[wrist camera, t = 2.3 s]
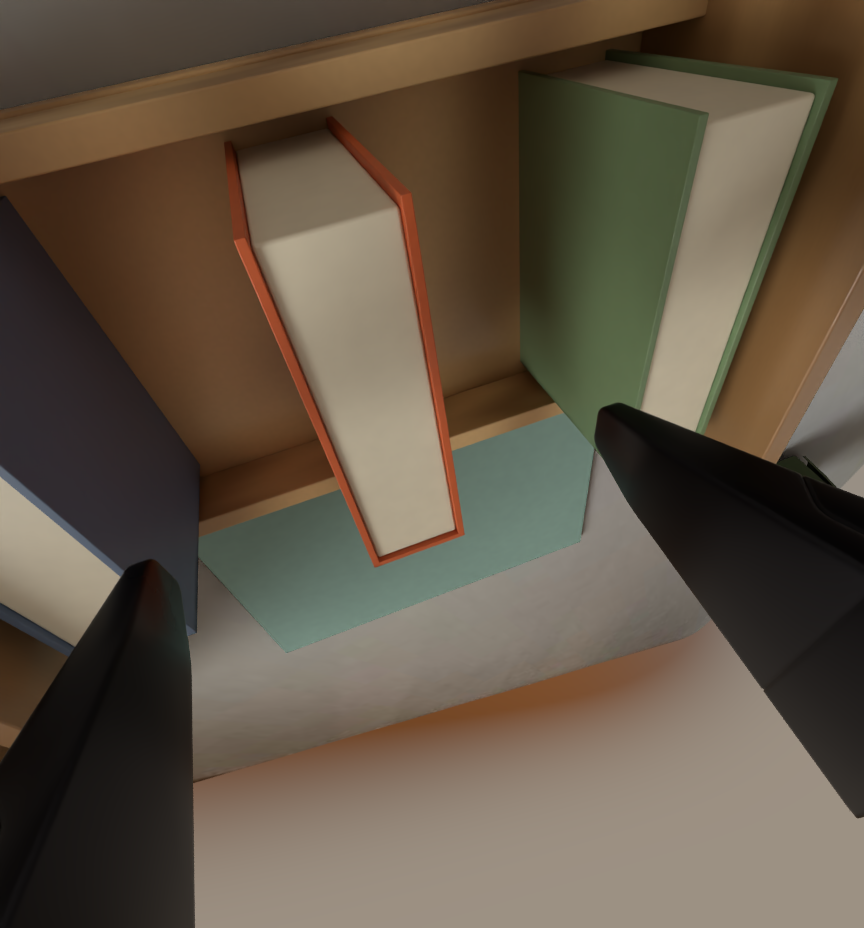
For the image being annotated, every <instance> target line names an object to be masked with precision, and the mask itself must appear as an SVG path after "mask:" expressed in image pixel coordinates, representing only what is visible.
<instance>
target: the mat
mask: <svg viewBox="0 0 864 928" xmlns="http://www.w3.org/2000/svg"><path fill="white" fill-rule="evenodd" d="M593 454H594V447H593V446H592V445H591V444H590V443H589V442H588V440H587V439H586V438H585V437H584V436H583V434H582V433H581V432H580V431H579V430H578V429H577V427H576V426H575V425H574V424H573V423H572V422H571V420H570V419H569V418H568V417H567V416H566V415H565V413H562V414H559V415H556V416H553V417H550V418H547V419H544V420H541V421H538V422H535V423H532V424H529V425H527V426H524V427H521V428H518V429H515V430H512V431H509V432H506V433H503V434H500V435H497V436H494V437H491V438H488V439H485V440H483V441H480V442H477V443H474V444H471V445H468V446H465V447H462V448H459V449H456V450H453V451H452V456H453V462H454V469H455V475H456V482H457V488H458V494H459V501H460V507H461V514H462V520H463V527H464V533H465V535H463V536H461V537H458V538H455V539H452V540H450V541H447V542H444V543H441V544H439V545H436V546H433V547H430V548H428V549H425V550H422V551H419V552H417V553H414V554H411V555H409V556H406V557H403V558H400V559H398V560H395V561H392V562H389V563H387V564H384V565H381V566H378V567H376V568H375V567H374V565H373V563H372V560H371V558H370V556H369V554H368V551H367V549H366V547H365V544H364V542H363V540H362V537H361V535H360V533H359V530H358V528H357V526H356V523H355V521H354V519H353V516H352V514H351V512H350V510H349V507H348V505H347V503H346V500H345V498H344V496H343V493H342V491H341V489H339V490H336V491H333V492H330V493H327V494H324V495H321V496H319V497H316V498H313V499H310V500H307V501H304V502H301V503H298V504H295V505H292V506H289V507H286V508H283V509H280V510H277V511H275V512H272V513H269V514H266V515H263V516H260V517H257V518H254V519H251V520H248V521H245V522H242V523H239V524H236V525H234V526H231V527H228V528H225V529H222V530H219V531H216V532H213V533H210V534H207V535H204V536H201V537H199V543H198V557H199V558H200V559H201V560H202V562H203V563H204V564H205V565H206V566H207V567H208V568H209V569H210V570H211V571H212V572H213V574H214V575H215V576H216V577H217V578H218V579H219V580H220V581H221V582H222V583H223V584H224V586H225V587H226V588H227V589H228V590H229V591H230V592H231V593H232V594H233V595H234V596H235V598H236V599H237V600H238V601H239V602H240V603H241V604H242V605H243V606H244V607H245V609H246V610H247V611H248V612H249V613H250V614H251V615H252V616H253V617H254V618H255V619H256V621H257V622H258V623H259V624H260V625H261V626H262V627H263V628H264V629H265V630H266V631H267V633H268V634H269V635H270V636H271V637H272V638H273V639H274V640H275V641H276V642H277V644H278V645H279V646H280V647H281V648H282V649H283V650H284V651H285V652H286V653H288V652H291V651H293V650H296V649H299V648H301V647H304V646H307V645H309V644H312V643H314V642H317V641H320V640H322V639H325V638H328V637H330V636H333V635H336V634H338V633H341V632H343V631H346V630H349V629H351V628H354V627H357V626H359V625H362V624H365V623H367V622H370V621H372V620H375V619H378V618H380V617H383V616H386V615H388V614H391V613H394V612H396V611H399V610H401V609H404V608H407V607H409V606H412V605H415V604H417V603H420V602H423V601H425V600H428V599H430V598H433V597H436V596H438V595H441V594H444V593H446V592H449V591H452V590H454V589H457V588H459V587H462V586H465V585H467V584H470V583H473V582H475V581H478V580H481V579H483V578H486V577H488V576H491V575H494V574H496V573H499V572H502V571H504V570H507V569H510V568H512V567H515V566H517V565H520V564H523V563H525V562H528V561H531V560H533V559H536V558H539V557H541V556H544V555H546V554H549V553H552V552H554V551H557V550H560V549H562V548H565V547H568V546H570V545H573V544H575V543H578V542H580V539H581V533H582V526H583V520H584V513H585V507H586V500H587V494H588V487H589V480H590V474H591V467H592V461H593Z"/></svg>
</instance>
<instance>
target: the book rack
mask: <svg viewBox="0 0 864 928" xmlns="http://www.w3.org/2000/svg"><path fill="white" fill-rule="evenodd" d="M608 49H618V50H626V51H633V52H641V53H649V54H657V55H664V56H672V57H680V58H688V59H695V60H703V61H711V62H719V63H726V64H734V65H742V66H750V67H757V68H765V69H773V70H780V71H788V72H796V73H804V74H811V75H819V76H827V77H835V78H838V81H837V84H836V87H835V89H834V92H833V95H832V97H831V100H830V103H829V105H828V108H827V111H826V113H825V116H824V119H823V121H822V124H821V126H820V129H819V132H818V134H817V137H816V140H815V142H814V145H813V148H812V150H811V153H810V156H809V158H808V161H807V164H806V166H805V169H804V171H803V174H802V177H801V179H800V182H799V185H798V187H797V190H796V193H795V195H794V198H793V201H792V203H791V206H790V209H789V211H788V214H787V216H786V219H785V222H784V224H783V227H782V230H781V232H780V235H779V238H778V240H777V243H776V246H775V248H774V251H773V253H772V256H771V259H770V261H769V264H768V267H767V269H766V272H765V275H764V277H763V280H762V283H761V285H760V288H759V291H758V293H757V296H756V298H755V301H754V304H753V306H752V309H751V312H750V314H749V317H748V320H747V322H746V325H745V328H744V330H743V333H742V336H741V338H740V341H739V343H738V346H737V349H736V351H735V354H734V357H733V359H732V362H731V365H730V367H729V370H728V373H727V375H726V378H725V381H724V383H723V386H722V388H721V391H720V394H719V396H718V399H717V402H716V404H715V407H714V410H713V412H712V415H711V418H710V420H709V423H708V425H707V428H706V431H705V433H704V436H707V437H709V438H712V439H714V440H717V441H719V442H722V443H724V444H727V445H729V446H732V447H734V448H737V449H739V450H742V451H745V452H747V453H750V454H752V455H755V456H757V457H760V458H762V459H765V460H767V461H770V462H772V463H775V464H776V463H777V462H778V460H779V458H780V456H781V455H782V453H783V451H784V449H785V448H786V446H787V444H788V442H789V440H790V439H791V437H792V435H793V433H794V432H795V430H796V428H797V426H798V424H799V423H800V421H801V419H802V417H803V416H804V414H805V412H806V410H807V408H808V407H809V405H810V403H811V401H812V400H813V398H814V396H815V394H816V392H817V391H818V389H819V387H820V385H821V384H822V382H823V380H824V378H825V377H826V375H827V373H828V371H829V369H830V368H831V366H832V364H833V362H834V361H835V359H836V357H837V355H838V353H839V352H840V350H841V348H842V346H843V345H844V343H845V341H846V339H847V337H848V336H849V334H850V332H851V330H852V329H853V327H854V325H855V323H856V322H857V320H858V318H859V316H860V314H861V313H862V311H863V309H864V0H495V1H490V2H486V3H481V4H477V5H472V6H468V7H463V8H459V9H454V10H450V11H445V12H441V13H436V14H432V15H427V16H423V17H418V18H414V19H409V20H405V21H400V22H396V23H391V24H386V25H382V26H377V27H373V28H368V29H364V30H359V31H355V32H350V33H346V34H341V35H337V36H332V37H328V38H323V39H319V40H314V41H310V42H305V43H301V44H296V45H291V46H287V47H282V48H278V49H273V50H269V51H264V52H260V53H255V54H251V55H246V56H242V57H237V58H233V59H228V60H224V61H219V62H215V63H210V64H206V65H201V66H196V67H192V68H187V69H183V70H178V71H174V72H169V73H165V74H160V75H156V76H151V77H147V78H142V79H138V80H133V81H129V82H124V83H120V84H115V85H111V86H106V87H102V88H97V89H92V90H88V91H83V92H79V93H74V94H70V95H65V96H61V97H56V98H52V99H47V100H43V101H38V102H34V103H29V104H25V105H20V106H16V107H11V108H7V109H2V110H0V197H1V196H6V197H7V198H8V199H9V201H10V202H11V204H12V205H13V206H14V208H15V209H16V211H17V212H18V213H19V215H20V216H21V217H22V219H23V220H24V222H25V223H26V224H27V226H28V227H29V229H30V230H31V231H32V233H33V234H34V235H35V237H36V238H37V240H38V241H39V242H40V244H41V245H42V247H43V248H44V249H45V251H46V252H47V253H48V255H49V256H50V258H51V259H52V260H53V262H54V263H55V265H56V266H57V267H58V269H59V270H60V271H61V273H62V274H63V276H64V277H65V278H66V280H67V281H68V283H69V284H70V285H71V287H72V288H73V289H74V291H75V292H76V294H77V295H78V296H79V298H80V299H81V301H82V302H83V303H84V305H85V306H86V307H87V309H88V310H89V312H90V313H91V314H92V316H93V317H94V319H95V320H96V321H97V323H98V324H99V325H100V327H101V328H102V330H103V331H104V332H105V334H106V335H107V337H108V338H109V339H110V341H111V342H112V343H113V345H114V346H115V348H116V349H117V350H118V352H119V353H120V355H121V356H122V357H123V359H124V360H125V361H126V363H127V364H128V366H129V367H130V368H131V370H132V371H133V373H134V374H135V375H136V377H137V378H138V379H139V381H140V382H141V384H142V385H143V386H144V388H145V389H146V391H147V392H148V393H149V395H150V396H151V397H152V399H153V400H154V402H155V403H156V404H157V406H158V407H159V409H160V410H161V411H162V413H163V414H164V415H165V417H166V418H167V420H168V421H169V422H170V424H171V425H172V427H173V428H174V429H175V431H176V432H177V433H178V435H179V436H180V438H181V439H182V440H183V442H184V443H185V445H186V446H187V447H188V449H189V450H190V451H191V453H192V454H193V456H194V457H195V458H196V460H197V461H198V463H199V464H200V493H199V537H201V536H204V535H207V534H210V533H213V532H216V531H219V530H222V529H225V528H228V527H231V526H234V525H236V524H239V523H242V522H245V521H248V520H251V519H254V518H257V517H260V516H263V515H266V514H269V513H272V512H275V511H277V510H280V509H283V508H286V507H289V506H292V505H295V504H298V503H301V502H304V501H307V500H310V499H313V498H316V497H319V496H321V495H324V494H327V493H330V492H333V491H336V490H339V489H340V486H339V484H338V482H337V479H336V477H335V475H334V472H333V470H332V468H331V465H330V463H329V461H328V459H327V456H326V454H325V452H324V449H323V447H322V445H321V442H320V440H319V438H318V435H317V433H316V431H315V428H314V426H313V424H312V421H311V419H310V417H309V415H308V412H307V410H306V408H305V405H304V403H303V401H302V398H301V396H300V394H299V391H298V389H297V387H296V384H295V382H294V380H293V377H292V375H291V373H290V371H289V368H288V366H287V364H286V361H285V359H284V357H283V354H282V352H281V350H280V347H279V345H278V343H277V340H276V338H275V336H274V333H273V331H272V329H271V327H270V324H269V322H268V320H267V317H266V315H265V313H264V310H263V308H262V306H261V303H260V301H259V299H258V296H257V294H256V292H255V289H254V287H253V285H252V283H251V280H250V278H249V276H248V273H247V271H246V269H245V266H244V264H243V262H242V259H241V257H240V255H239V252H238V250H237V248H236V245H235V243H234V239H233V229H232V219H231V209H230V199H229V189H228V179H227V169H226V159H225V149H224V142H228V141H231V142H232V145H233V147H234V150H235V153H236V152H237V151H238V150H241V149H245V148H250V147H254V146H258V145H262V144H266V143H270V142H274V141H278V140H282V139H286V138H290V137H294V136H298V135H303V134H307V133H311V132H315V131H319V130H323V129H329V128H328V124H327V120H326V118H327V117H331V116H333V117H334V118H335V119H336V120H337V121H338V122H339V123H340V124H341V125H342V126H343V127H344V128H345V129H346V130H347V131H348V132H349V133H350V134H351V135H352V136H353V137H354V138H356V139H357V140H358V141H359V142H360V143H361V144H362V145H363V146H364V147H365V148H366V149H367V150H368V151H369V152H370V153H371V154H372V155H373V156H374V157H375V158H376V159H377V160H378V161H379V162H380V163H381V164H382V165H383V166H384V167H385V168H386V169H387V170H389V171H390V172H391V173H392V174H393V175H394V176H395V177H396V178H397V179H398V180H399V181H400V182H401V183H402V184H403V185H404V186H405V187H406V188H407V189H408V190H409V191H410V192H411V193H412V198H413V205H414V211H415V218H416V224H417V231H418V237H419V243H420V250H421V256H422V263H423V269H424V276H425V282H426V288H427V295H428V301H429V308H430V314H431V321H432V327H433V334H434V340H435V346H436V353H437V359H438V366H439V372H440V379H441V385H442V391H443V398H444V404H445V411H446V417H447V424H448V430H449V436H450V443H451V449H452V451H453V450H456V449H459V448H462V447H465V446H468V445H471V444H474V443H477V442H480V441H483V440H485V439H488V438H491V437H494V436H497V435H500V434H503V433H506V432H509V431H512V430H515V429H518V428H521V427H524V426H527V425H529V424H532V423H535V422H538V421H541V420H544V419H547V418H550V417H553V416H556V415H559V414H562V413H564V412H563V411H562V410H561V409H560V408H559V406H558V405H557V404H556V403H555V402H554V400H553V399H552V398H551V397H550V396H549V395H548V393H547V392H546V391H545V390H544V389H543V388H542V386H541V385H540V384H539V383H538V382H537V381H536V379H535V378H534V377H533V376H532V375H531V373H530V372H529V371H528V370H527V369H526V368H525V366H524V365H523V364H522V363H521V362H520V254H519V88H518V72H519V71H521V70H527V71H531V72H536V73H540V74H544V75H548V74H552V73H556V72H560V71H564V70H568V69H572V68H576V67H580V66H584V65H588V64H592V63H597V62H601V61H605V54H606V50H608ZM67 659H68V657H67V656H66V655H64V654H62V653H60V652H59V651H57V650H55V649H53V648H51V647H50V646H48V645H46V644H44V643H43V642H41V641H39V640H37V639H35V638H34V637H32V636H30V635H28V634H27V633H25V632H23V631H21V630H19V629H18V628H16V627H14V626H12V625H10V624H9V623H7V622H5V621H3V620H2V619H0V745H1V746H5V747H8V748H10V746H11V745H12V743H13V742H14V740H15V739H16V737H17V736H18V734H19V732H20V731H21V729H22V728H23V726H24V725H25V723H26V722H27V720H28V719H29V717H30V716H31V714H32V712H33V711H34V709H35V708H36V706H37V705H38V703H39V702H40V700H41V699H42V697H43V696H44V694H45V692H46V691H47V689H48V688H49V686H50V685H51V683H52V682H53V680H54V679H55V677H56V676H57V674H58V672H59V671H60V669H61V668H62V666H63V665H64V663H65V662H66V660H67Z"/></svg>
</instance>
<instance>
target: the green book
mask: <svg viewBox="0 0 864 928" xmlns="http://www.w3.org/2000/svg"><path fill="white" fill-rule="evenodd" d="M837 81H838V78H835V77H827V76H819V75H811V74H804V73H796V72H788V71H780V70H773V69H765V68H757V67H750V66H742V65H734V64H726V63H719V62H711V61H703V60H695V59H688V58H680V57H672V56H664V55H657V54H649V53H641V52H633V51H626V50H618V49H608V50H606V54H605V61H601V62H597V63H592V64H588V65H584V66H580V67H576V68H572V69H568V70H564V71H560V72H556V73H552V74H548V75H544V74H540V73H536V72H531V71H527V70H521V71H519V72H518V88H519V254H520V362H521V363H522V364H523V365H524V366H525V368H526V369H527V370H528V371H529V372H530V373H531V375H532V376H533V377H534V378H535V379H536V381H537V382H538V383H539V384H540V385H541V386H542V388H543V389H544V390H545V391H546V392H547V393H548V395H549V396H550V397H551V398H552V399H553V400H554V402H555V403H556V404H557V405H558V406H559V408H560V409H561V410H562V411H563V412H564V413H565V415H566V416H567V417H568V418H569V419H570V420H571V422H572V423H573V424H574V425H575V426H576V427H577V429H578V430H579V431H580V432H581V433H582V434H583V436H584V437H585V438H586V439H587V440H588V442H589V443H590V444H591V445H592V446H593V447H594V449H595V450H596V451H597V452H598V453H599V454H600V452H599V451H598V449H597V447H596V444H595V441H594V434H595V428H596V421H597V415H598V411H599V410H600V408H602V407H604V406H607V405H610V404H613V403H617V402H619V403H623V404H626V405H629V406H631V407H634V408H636V409H639V410H641V411H644V412H646V413H649V414H651V415H654V416H656V417H659V418H661V419H664V420H666V421H669V422H671V423H674V424H676V425H679V426H681V427H684V428H687V429H689V430H692V431H694V432H697V433H699V434H702V435H704V433H705V431H706V428H707V425H708V423H709V420H710V418H711V415H712V412H713V410H714V407H715V404H716V402H717V399H718V396H719V394H720V391H721V388H722V386H723V383H724V381H725V378H726V375H727V373H728V370H729V367H730V365H731V362H732V359H733V357H734V354H735V351H736V349H737V346H738V343H739V341H740V338H741V336H742V333H743V330H744V328H745V325H746V322H747V320H748V317H749V314H750V312H751V309H752V306H753V304H754V301H755V298H756V296H757V293H758V291H759V288H760V285H761V283H762V280H763V277H764V275H765V272H766V269H767V267H768V264H769V261H770V259H771V256H772V253H773V251H774V248H775V246H776V243H777V240H778V238H779V235H780V232H781V230H782V227H783V224H784V222H785V219H786V216H787V214H788V211H789V209H790V206H791V203H792V201H793V198H794V195H795V193H796V190H797V187H798V185H799V182H800V179H801V177H802V174H803V171H804V169H805V166H806V164H807V161H808V158H809V156H810V153H811V150H812V148H813V145H814V142H815V140H816V137H817V134H818V132H819V129H820V126H821V124H822V121H823V119H824V116H825V113H826V111H827V108H828V105H829V103H830V100H831V97H832V95H833V92H834V89H835V87H836V84H837ZM600 456H601V454H600ZM601 457H602V456H601Z"/></svg>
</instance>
